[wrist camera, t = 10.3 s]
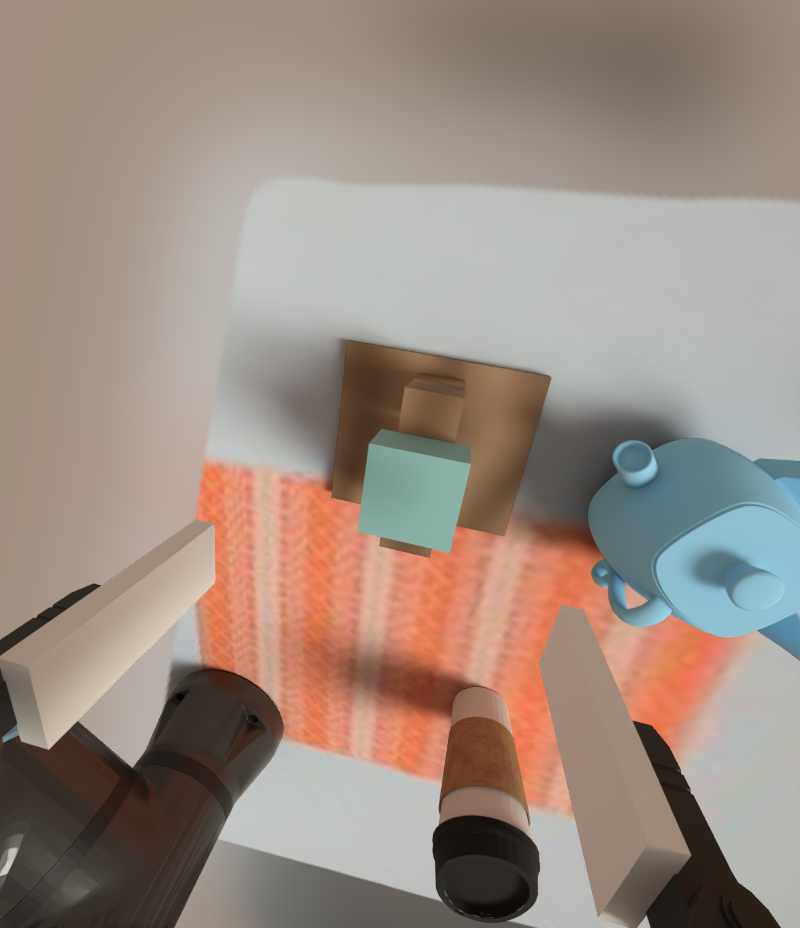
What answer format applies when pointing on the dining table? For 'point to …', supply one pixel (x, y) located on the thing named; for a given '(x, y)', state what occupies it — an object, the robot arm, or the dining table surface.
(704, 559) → the teapot
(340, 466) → the bracket
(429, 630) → the dining table surface
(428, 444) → the peg
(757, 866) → the dining table surface
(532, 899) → the coffee cup
